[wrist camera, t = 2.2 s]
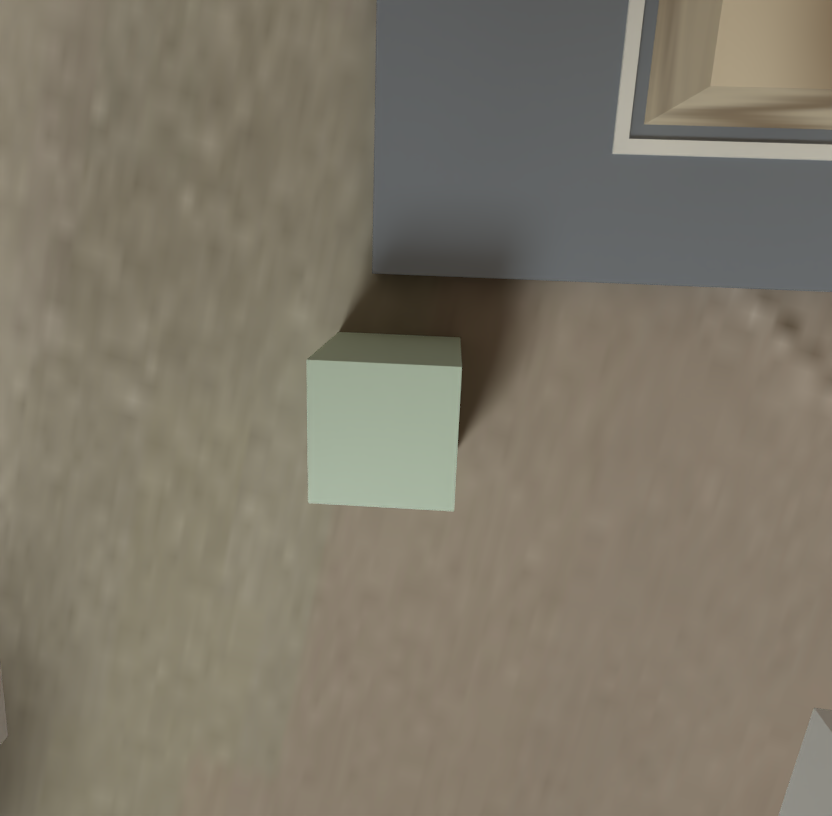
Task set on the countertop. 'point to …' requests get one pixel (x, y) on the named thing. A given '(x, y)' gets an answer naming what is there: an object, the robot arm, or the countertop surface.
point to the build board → (576, 158)
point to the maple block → (742, 64)
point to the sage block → (384, 421)
